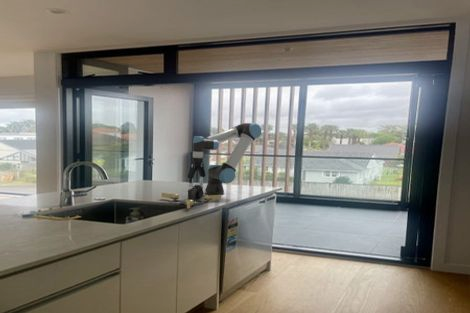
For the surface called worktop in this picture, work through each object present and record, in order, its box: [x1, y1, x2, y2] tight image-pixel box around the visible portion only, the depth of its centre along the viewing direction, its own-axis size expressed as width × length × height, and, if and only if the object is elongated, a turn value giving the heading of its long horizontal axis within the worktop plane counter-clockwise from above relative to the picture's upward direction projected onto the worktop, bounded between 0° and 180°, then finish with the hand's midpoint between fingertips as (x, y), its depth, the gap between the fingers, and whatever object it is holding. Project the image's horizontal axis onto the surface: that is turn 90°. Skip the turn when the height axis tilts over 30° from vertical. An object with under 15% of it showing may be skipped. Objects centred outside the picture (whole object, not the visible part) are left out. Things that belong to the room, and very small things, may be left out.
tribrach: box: [174, 194, 223, 209], centre depth 244 cm, size 42×27×4 cm, turn 154°
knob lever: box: [161, 192, 180, 200], centre depth 252 cm, size 14×5×4 cm, turn 64°
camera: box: [187, 184, 205, 200], centre depth 263 cm, size 13×10×10 cm
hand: (196, 186), depth 263 cm, fingers open, 13 cm apart
